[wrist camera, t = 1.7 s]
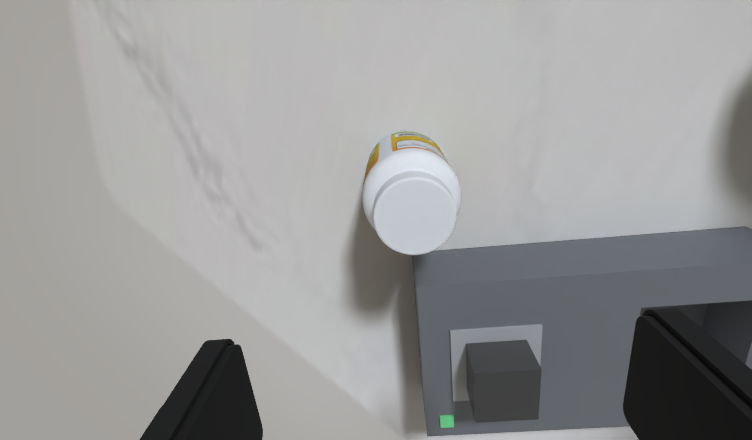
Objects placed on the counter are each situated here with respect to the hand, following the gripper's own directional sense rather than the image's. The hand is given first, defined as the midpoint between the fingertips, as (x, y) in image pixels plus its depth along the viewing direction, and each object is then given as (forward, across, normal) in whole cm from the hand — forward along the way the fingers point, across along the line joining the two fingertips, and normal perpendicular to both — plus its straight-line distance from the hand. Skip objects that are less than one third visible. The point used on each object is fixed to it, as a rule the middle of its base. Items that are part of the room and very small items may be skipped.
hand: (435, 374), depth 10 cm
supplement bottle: (+20, 0, 0) cm, 20 cm away
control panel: (+20, -12, +13) cm, 27 cm away
